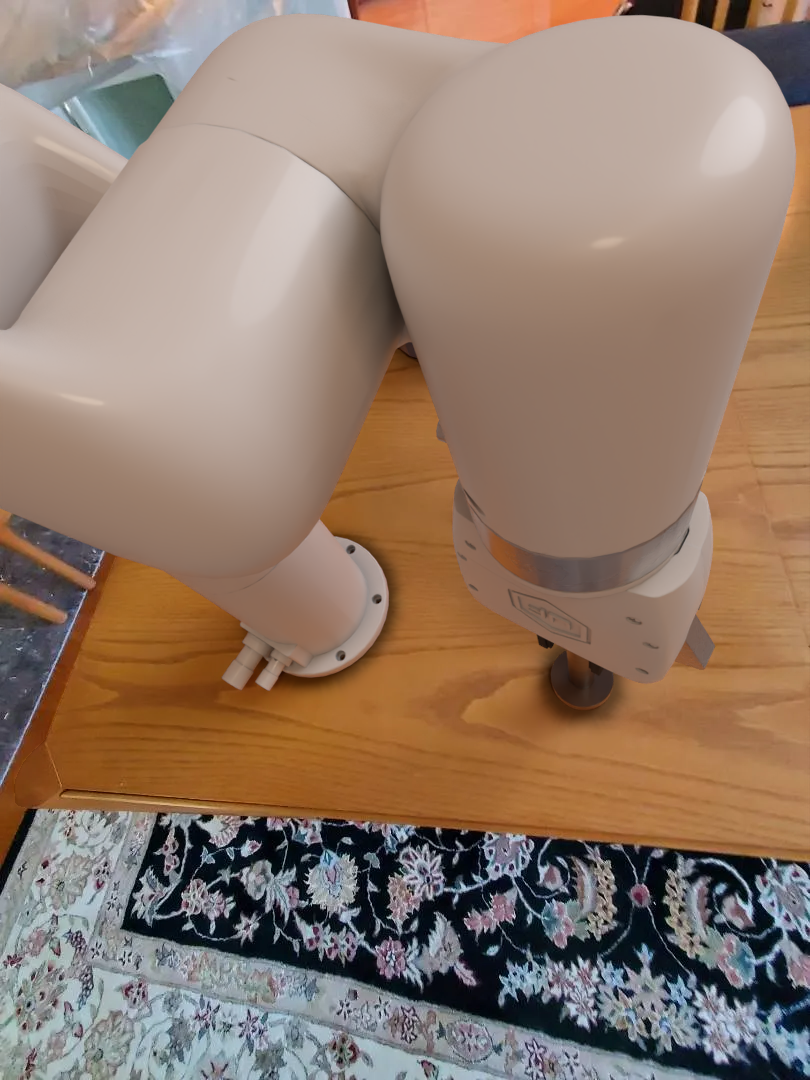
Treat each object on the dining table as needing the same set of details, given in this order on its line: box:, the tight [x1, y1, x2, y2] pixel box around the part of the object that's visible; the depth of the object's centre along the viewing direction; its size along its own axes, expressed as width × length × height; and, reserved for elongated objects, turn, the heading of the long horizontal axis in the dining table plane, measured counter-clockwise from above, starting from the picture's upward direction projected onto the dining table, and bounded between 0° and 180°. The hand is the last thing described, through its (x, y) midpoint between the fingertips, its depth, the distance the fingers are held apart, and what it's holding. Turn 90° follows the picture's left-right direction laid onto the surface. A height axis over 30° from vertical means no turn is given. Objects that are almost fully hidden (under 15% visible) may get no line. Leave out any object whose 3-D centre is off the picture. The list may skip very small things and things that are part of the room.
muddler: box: [550, 649, 615, 711], centre depth 39 cm, size 4×4×16 cm
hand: (580, 637), depth 37 cm, fingers closed
